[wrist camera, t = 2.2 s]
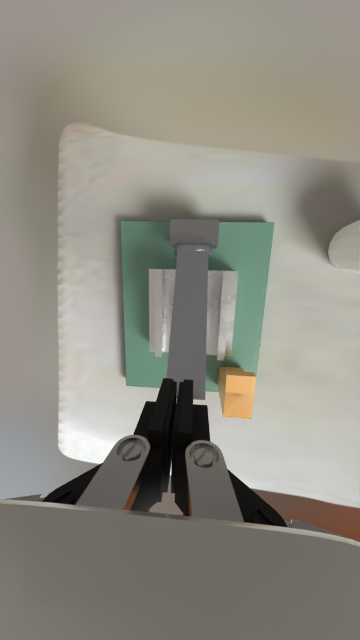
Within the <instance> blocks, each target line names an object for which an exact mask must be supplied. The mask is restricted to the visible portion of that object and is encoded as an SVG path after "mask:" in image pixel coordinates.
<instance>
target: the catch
mask: <svg viewBox="0 0 360 640" xmlns="http://www.w3.org/2000/svg"><path fill="white" fill-rule="evenodd" d="M255 383H256V375H255V374H254V372H244V370H243V368H237V367H219V381H218V389H219V395H220V401H221V407H222V413H223V417H233V418H246V419H251V417H252V408H253V400H254V391H255Z"/></svg>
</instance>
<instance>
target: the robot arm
mask: <svg viewBox="0 0 360 640" xmlns="http://www.w3.org/2000/svg"><path fill="white" fill-rule="evenodd" d="M176 398H177V404H176ZM171 461H172V473H171V493H175V503H176V504H177V506H178V507H179V508H180V510H181V511H182V512H183V516H181V515H171V514H161V513H152V512H150V508H151V507H152V506H153V505H154V504H155V503H157V502H161V499H162V493H163V492H166V493H167V491H168V484H169V476H170V468H171ZM0 640H360V542H358V541H355V540H352V539H350V538H347V537H344V536H341V535H338V534H335V533H332V532H329V531H326V530H323V529H320V528H317V527H313V526H311V525H308V524H305V523H302V522H299V521H296V520H293V519H292V520H291V523H290V522H287V521H284V520H283V518H282V517H281V516H280V515H279V514H278V513H277V512H276V511H275V510H274V509H273V508H272V507H271V506H270V505H269V504H267V503H266V502H265V501H264V500H263V499H261V498H260V497H259V496H258V495H257V494H256V493H255V492H253V491H252V490H251V489H250V488H249V487H248V486H246V485H245V484H244V483H243V482H242V481H241V480H239V479H238V478H237V477H236V476H235V475H234V474H232V473H231V472H230V471H229V470H228V469H227V467H226V464H225V461H224V457H223V454H222V452H221V450H220V449H219V448H218V447H217V446H216V445H215V444H213V443H212V442H210V434H209V421H208V409H207V405H194V404H193V380H188V379H184V381H183V382H180V383H179V390H178V397H177V381H173V379H171V378H163V381H162V384H161V387H160V390H159V394H158V397H157V400H156V402H150V401H147V402H146V403H145V405H144V408H143V411H142V413H141V416H140V419H139V421H138V424H137V427H136V429H135V432H134V434H133V435H130V436H126V437H124V438H122V439H121V440H119V441H118V442H117V443H116V444H115V445H114V447H113V448H112V450H111V452H110V453H109V455H108V456H107V458H106V459H105V461H104V462H103V463H101V464H100V465H98V466H96V467H95V468H93V469H91V470H89V471H87V472H85V473H84V474H82V475H80V476H78V477H77V478H75V479H73V480H71V481H70V482H68V483H66V484H64V485H62V486H61V487H59V488H57V489H55V490H54V491H53V492H51V493H50V494H49V495H48V496H47V497H44V498H42V494H39V495H31V496H24V497H17V498H10V499H0Z"/></svg>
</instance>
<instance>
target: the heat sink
mask: <svg viewBox="0 0 360 640" xmlns="http://www.w3.org/2000/svg"><path fill="white" fill-rule="evenodd" d="M219 221H220V219H170V246H172V247H173V248H175V243H212V249H216V247H217V246H218V237H219ZM175 275H176V269H149V342H150V351H151V352H155V357H162V356H163V353H164V352H169V342H170V331H171V320H172V309H173V297H174V286H175ZM237 281H238V271H216V270H208V295H207V338H206V355H216V357H217V360H223V361H224V356H231V351H232V339H233V328H234V316H235V304H236V293H237Z"/></svg>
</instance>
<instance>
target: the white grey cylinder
mask: <svg viewBox="0 0 360 640" xmlns="http://www.w3.org/2000/svg"><path fill="white" fill-rule="evenodd" d="M328 255H329V261H330V262H331V263H332V265H333V266H334V267H335V268H337V269H338V270H340V271H342V272H348V273H354V274H360V220H358V221H356V222H354V223H351V224H349V225H347V226H345V227H343V228H342V229H341V230H339V231H338V232H337V233H336V234H335V235H334V237H333V238H332V240H331V241H330V244H329V249H328Z"/></svg>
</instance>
